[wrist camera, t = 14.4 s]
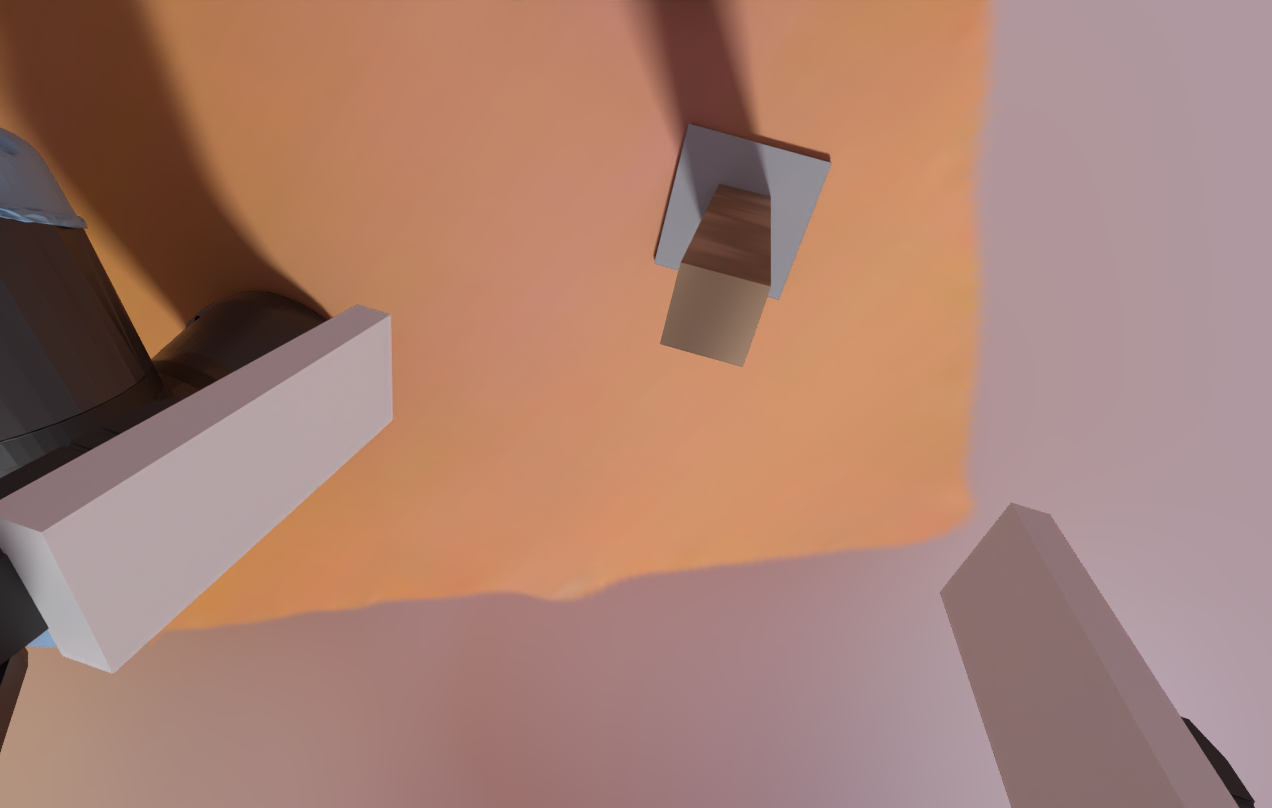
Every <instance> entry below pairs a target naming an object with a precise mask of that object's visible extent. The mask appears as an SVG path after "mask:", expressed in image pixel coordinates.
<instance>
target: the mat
mask: <svg viewBox="0 0 1272 808" xmlns="http://www.w3.org/2000/svg"><path fill="white" fill-rule="evenodd" d="M830 166H831V162H829V161H825V160H821V159H818V158H814V157H810V156H807V155H803V154H799V153H796V152H792V151H788V150H785V149H781V148H777V147H774V146H770V145H766V144H763V143H759V142H755V141H752V140H748V139H744V138H741V137H737V136H733V135H730V134H726V133H722V132H719V131H715V130H711V129H708V128H704V127H700V126H697V125H693V124H688V128H687V132H686V137H685V141H684V145H683V149H682V153H681V157H680V161H679V165H678V169H677V173H676V177H675V181H674V185H673V189H672V193H671V197H670V202H669V206H668V210H667V214H666V218H665V222H664V226H663V230H662V234H661V238H660V242H659V246H658V250H657V254H656V258H655V262H654V264H657V265H661V266H664V267H667V268H671V269H674V270H678V271H679V267H680V263H681V261H682V259H683V256H684V254H685V252H686V250H687V248H688V246H689V244H690V242H691V240H692V238H693V236H694V234H695V232H696V230H697V228H698V226H699V224H700V222H701V220H702V218H703V216H704V214H705V212H706V210H707V208H708V205H709V203H710V201H711V199H712V197H713V195H714V193H715V191H716V189H717V187H718V185H719V184H723V185H727V186H731V187H735V188H738V189H742V190H746V191H750V192H754V193H758V194H762V195H766V196H770V197H771V288H770V291H769V294H768V297H771V298H774V299H778V300H779V298H780V295H781V293H782V290H783V288H784V285H785V282H786V280H787V277H788V275H789V272H790V270H791V267H792V264H793V262H794V259H795V257H796V254H797V251H798V249H799V246H800V244H801V241H802V238H803V236H804V233H805V231H806V228H807V225H808V223H809V220H810V218H811V215H812V212H813V210H814V207H815V205H816V202H817V200H818V197H819V194H820V192H821V189H822V187H823V184H824V181H825V179H826V176H827V174H828V171H829V168H830Z"/></svg>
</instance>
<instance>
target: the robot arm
mask: <svg viewBox="0 0 1272 808" xmlns="http://www.w3.org/2000/svg"><path fill="white" fill-rule="evenodd" d="M83 228H88V227H87V224H86V222H85V220H84V219H83V218H81V217H79V216H77V215H76V214H75V212H74V210H73V209H72V207H71V205H70V204H69V202H68V200H67V198H66V197H65V195H64V193H63V192H62V190H61V188H60V186H59V185H58V183H57V181H56V179H55V178H54V176H53V174H52V173H51V171H50V169H49V167H48V166H47V164H46V162H45V161H44V159H43V158H42V157H41V155H40V154H39V153H38V152H37V151H36V150H35V149H34V148H33V147H32V146H31V145H30V144H29V143H27V142H26V141H25V140H23V139H22V138H20V137H19V136H17V135H15V134H13V133H11V132H9V131H7V130H5V129H2V128H0V752H1V749H2V745H3V742H4V739H5V736H6V733H7V729H8V726H9V723H10V720H11V717H12V714H13V711H14V708H15V705H16V702H17V698H18V695H19V692H20V689H21V686H22V683H23V680H24V677H25V673H26V670H27V667H28V651H27V650H26V648H25V646H33V647H58V649H59V651H60V652H61V654H62V656H64V657H67V658H70V659H73V660H76V661H79V662H81V663H84V664H87V665H90V666H93V667H95V668H98V669H101V670H104V671H107V672H110V673H112V674H113V673H114V672H115V671H117V670H118V669H119V668H120V667H121V666H122V665H123V664H124V663H125V662H126V661H127V660H129V659H130V658H131V657H132V656H133V655H134V654H135V653H136V652H137V651H138V650H140V649H141V648H142V647H143V646H144V645H145V644H146V643H147V642H149V641H150V640H151V639H152V638H153V637H154V636H155V635H156V634H157V633H158V632H160V631H161V630H162V629H163V628H164V627H165V626H166V625H167V624H168V623H169V622H171V621H172V620H173V619H174V618H175V617H176V616H177V615H178V614H179V613H180V612H182V611H183V610H184V609H185V608H186V607H187V606H188V605H189V604H190V603H192V602H193V601H194V600H195V599H196V598H197V597H198V596H199V595H200V594H201V593H203V592H204V591H205V590H206V589H207V588H208V587H209V586H210V585H211V584H212V583H214V582H215V581H216V580H217V579H218V578H219V577H220V576H221V575H222V574H224V573H225V572H226V571H227V570H228V569H229V568H230V567H231V566H232V565H233V564H235V563H236V562H237V561H238V560H239V559H240V558H241V557H242V556H243V555H244V554H246V553H247V552H248V551H249V550H250V549H251V548H252V547H253V546H254V545H255V544H257V543H258V542H259V541H260V540H261V539H262V538H263V537H264V536H265V535H267V534H268V533H269V532H270V531H271V530H272V529H273V528H274V527H275V526H276V525H278V524H279V523H280V522H281V521H282V520H283V519H284V518H285V517H286V516H287V515H289V514H290V513H291V512H292V511H293V510H294V509H295V508H296V507H297V506H298V505H300V504H301V503H302V502H303V501H304V500H305V499H306V498H307V497H308V496H310V495H311V494H312V493H313V492H314V491H315V490H316V489H317V488H318V487H319V486H321V485H322V484H323V483H324V482H325V481H326V480H327V479H328V478H329V477H330V476H332V475H333V474H334V473H335V472H336V471H337V470H338V469H339V468H340V467H341V466H343V465H344V464H345V463H346V462H347V461H348V460H349V459H350V458H351V457H353V456H354V455H355V454H356V453H357V452H358V451H359V450H360V449H361V448H362V447H364V446H365V445H366V444H367V443H368V442H369V441H370V440H371V439H372V438H373V437H375V436H376V435H377V434H378V433H379V432H380V431H381V430H382V429H383V428H384V427H386V426H387V425H388V424H389V423H390V422H391V421H392V420H393V402H392V351H391V315H390V314H387V313H384V312H381V311H377V310H374V309H371V308H367V307H364V306H361V305H355V306H353V307H351V308H350V309H348V310H346V311H344V312H342V313H340V314H339V315H337V316H335V317H333V318H331V319H330V320H328V321H326V320H324V319H323V318H322V317H320V316H319V315H318V314H316V313H315V312H313V311H312V310H310V309H308V308H307V307H305V306H303V305H301V304H299V303H297V302H295V301H293V300H291V299H288V298H286V297H283V296H280V295H276V294H272V293H267V292H243V293H239V294H235V295H233V296H230V297H228V298H225V299H223V300H220V301H218V302H215V303H213V304H211V305H209V306H207V307H205V308H204V309H202V310H201V311H200V312H198V313H197V314H196V315H195V316H194V318H193V319H192V320H191V321H190V322H189V323H188V325H187V326H186V328H185V330H184V331H182V332H181V333H180V334H179V335H178V336H177V337H175V338H174V339H173V340H172V341H171V342H170V343H169V344H168V345H166V346H165V347H164V348H163V349H162V350H161V351H160V352H159V353H158V354H157V355H155V356H154V357H153V358H152V359H150V357H149V355H148V353H147V351H146V349H145V347H144V345H143V343H142V341H141V339H140V337H139V335H138V333H137V332H136V330H135V328H134V326H133V324H132V322H131V320H130V318H129V316H128V314H127V312H126V310H125V308H124V306H123V304H122V302H121V300H120V299H119V297H118V295H117V293H116V291H115V289H114V287H113V285H112V283H111V281H110V279H109V277H108V275H107V273H106V271H105V269H104V267H103V265H102V264H101V262H100V260H99V258H98V256H97V254H96V252H95V250H94V248H93V246H92V244H91V242H90V240H89V238H88V236H87V234H86V232H85V231H84V229H83ZM940 594H941V597H942V600H943V603H944V606H945V609H946V612H947V615H948V618H949V621H950V624H951V627H952V630H953V633H954V636H955V639H956V642H957V645H958V648H959V651H960V654H961V657H962V660H963V663H964V666H965V669H966V672H967V675H968V678H969V681H970V684H971V687H972V690H973V693H974V696H975V699H976V702H977V705H978V708H979V711H980V714H981V717H982V720H983V723H984V726H985V729H986V732H987V735H988V738H989V741H990V743H991V747H992V750H993V753H994V756H995V759H996V762H997V765H998V768H999V771H1000V774H1001V777H1002V780H1003V783H1004V786H1005V789H1006V792H1007V795H1008V798H1009V801H1010V804H1011V807H1012V808H1255V807H1254V802H1255V801H1254V800H1253V798H1252V797H1251V795H1250V794H1249V792H1248V791H1247V790H1246V788H1245V786H1244V785H1243V783H1242V782H1241V780H1240V779H1239V777H1238V776H1237V774H1236V773H1235V771H1234V770H1233V768H1232V767H1231V765H1230V764H1229V762H1228V761H1227V760H1226V758H1225V757H1224V756H1223V755H1222V754H1221V753H1220V752H1219V751H1218V750H1217V749H1216V748H1215V747H1214V746H1213V745H1212V744H1211V742H1210V741H1209V740H1208V739H1207V738H1206V737H1205V736H1204V735H1203V734H1202V733H1201V732H1200V731H1199V730H1198V729H1197V728H1196V727H1195V726H1194V725H1193V723H1192V722H1191V721H1190V720H1189V719H1186V718H1183V717H1180V715H1179V714H1178V712H1177V710H1176V709H1175V708H1174V706H1173V704H1172V703H1171V701H1170V700H1169V698H1168V697H1167V695H1166V694H1165V692H1164V690H1163V689H1162V687H1161V686H1160V684H1159V683H1158V681H1157V680H1156V678H1155V676H1154V675H1153V673H1152V672H1151V670H1150V669H1149V667H1148V666H1147V664H1146V663H1145V661H1144V659H1143V658H1142V656H1141V655H1140V653H1139V652H1138V650H1137V649H1136V647H1135V645H1134V644H1133V642H1132V641H1131V639H1130V638H1129V636H1128V635H1127V633H1126V631H1125V630H1124V628H1123V627H1122V625H1121V624H1120V622H1119V621H1118V619H1117V618H1116V616H1115V614H1114V613H1113V611H1112V610H1111V608H1110V607H1109V605H1108V604H1107V602H1106V600H1105V599H1104V597H1103V596H1102V594H1101V593H1100V591H1099V590H1098V588H1097V586H1096V585H1095V583H1094V582H1093V580H1092V579H1091V577H1090V576H1089V574H1088V573H1087V571H1086V569H1085V568H1084V567H1083V565H1082V563H1081V562H1080V560H1079V559H1078V557H1077V555H1076V554H1075V552H1074V551H1073V549H1072V548H1071V546H1070V545H1069V543H1068V542H1067V540H1066V538H1065V537H1064V535H1063V534H1062V532H1061V531H1060V529H1059V528H1058V526H1057V524H1056V523H1055V521H1054V520H1053V518H1052V517H1051V515H1050V514H1047V513H1044V512H1040V511H1037V510H1034V509H1030V508H1027V507H1024V506H1020V505H1017V504H1014V503H1011V504H1010V505H1009V506H1008V507H1007V509H1006V510H1005V511H1004V512H1003V514H1002V515H1001V516H1000V517H999V519H998V520H997V521H996V522H995V524H994V525H993V526H992V527H991V529H990V530H989V531H988V532H987V534H986V535H985V536H984V537H983V539H982V540H981V541H980V542H979V544H978V545H977V546H976V548H975V549H974V550H973V551H972V553H971V554H970V555H969V556H968V558H967V559H966V560H965V561H964V563H963V564H962V565H961V567H960V568H959V569H958V570H957V571H956V573H955V574H954V575H953V576H952V578H951V579H950V580H949V582H948V583H947V584H946V585H945V587H944V588H943V589H942V590H941V592H940Z"/></svg>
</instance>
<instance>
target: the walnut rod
mask: <svg viewBox="0 0 1272 808" xmlns="http://www.w3.org/2000/svg"><path fill="white" fill-rule="evenodd" d="M770 288H771V197H770V196H766V195H762V194H758V193H754V192H750V191H746V190H742V189H738V188H735V187H731V186H727V185H723V184H719V185H718V187H717V189H716V191H715V193H714V195H713V197H712V199H711V201H710V203H709V205H708V208H707V210H706V212H705V214H704V216H703V218H702V220H701V222H700V224H699V226H698V228H697V230H696V232H695V234H694V236H693V238H692V240H691V242H690V244H689V246H688V248H687V250H686V252H685V254H684V256H683V259H682V261H681V263H680V267H679V271H678V275H677V279H676V283H675V287H674V291H673V295H672V299H671V303H670V307H669V311H668V314H667V318H666V322H665V326H664V330H663V334H662V338H661V342H660V344H662V345H665V346H669V347H673V348H676V349H680V350H683V351H687V352H690V353H694V354H698V355H701V356H705V357H708V358H712V359H715V360H719V361H723V362H726V363H730V364H733V365H737V366H740V367H743V365H744V362H745V359H746V357H747V354H748V351H749V348H750V345H751V342H752V339H753V337H754V334H755V331H756V328H757V325H758V322H759V319H760V317H761V314H762V311H763V308H764V305H765V302H766V299H767V297H768V294H769V291H770Z"/></svg>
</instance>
